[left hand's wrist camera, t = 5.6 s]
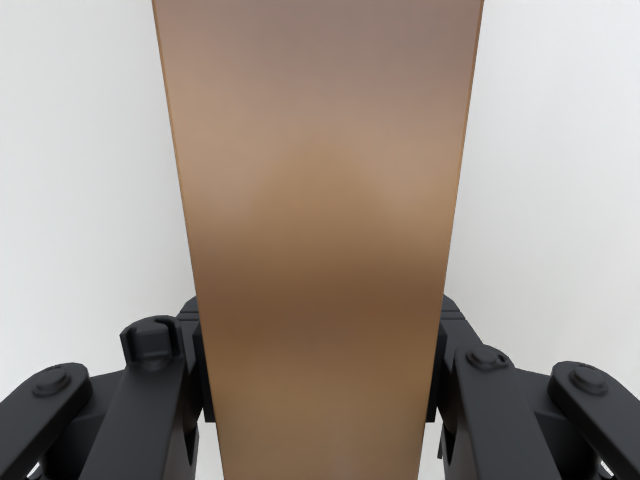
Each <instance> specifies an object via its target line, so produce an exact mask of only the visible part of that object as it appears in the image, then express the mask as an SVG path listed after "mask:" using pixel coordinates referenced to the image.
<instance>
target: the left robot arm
mask: <svg viewBox="0 0 640 480" xmlns="http://www.w3.org/2000/svg"><path fill="white" fill-rule="evenodd" d="M120 339H121V344H122V348H123V352H124V356H125V360H126V364H127V365H126V367H125V369H124V370H120V371H117V372H113V373H108V374H103V375H99V376H94V377H89V373H88V370H87V368H86V367H85V366H84V365H82V364H79V363H64V364H59V365H55V366H51V367H48V368H46V369H44V370H42V371H40V372H38V373H36V374H34V375H33V376H31V377H30V378H28V379H27V380H26V381H24V382H23V383H22V384H21V385H20V386H18V387H17V388H16V389H15V390H14V391H13V392H12V393H11V394H10V395H9V396H7V397H6V398H5V399H4V400H3V401H2V402H1V403H0V480H195V472H196V463H197V453H198V444H199V432H198V425H197V421H198V418H199V416H200V413H201V410H202V408H203V411H204V417H205V422H215V416H214V409H213V402H212V396H211V389H210V383H209V376H208V369H207V363H206V356H205V350H204V343H203V336H202V330H201V323H200V317H199V310H198V303H197V297H196V296H195V297H193V298H192V299H190V300H189V301H187V302H186V303H185V305H184V306H183V308H182V309H181V311H180V313H179V314H178V315H177V316H176V317H172V316H168V315H160V316H152V317H147V318H144V319H141V320H139V321H136V322H134V323H132V324H131V325H129V326H128V327H126V328H125V329H124V330H123V331H122V333H121V334H120ZM437 407H438V409H439V412H440V415H441V417H442V420H443V425H442V431H441V437H440V443H439V449H438V456H437V458H439V459H442V455H443V462H444V472H445V480H640V401H639V400H638V399H637V398H636V397H635V396H634V395H633V394H631V393H630V392H629V391H628V390H627V389H626V388H625V387H624V386H623V385H621V384H620V383H619V382H618V381H617V380H615V379H614V378H613V377H611V376H610V375H609V374H607V373H605V372H603V371H601V370H599V369H597V368H595V367H593V366H591V365H588V364H584V363H580V362H572V361H564V362H558V363H557V364H556V365H554V366H553V368H552V372H551V375H550V376H548V375H544V374H539V373H534V372H530V371H525V370H521V369H518V368H515V366H514V364H513V363H512V361H511V360H510V359H509V357H508V356H507V355H505V354H504V353H503V352H501V351H500V350H498V349H496V348H493V347H491V346H489V345H485V344H483V343H482V341H481V340H480V338H479V337H478V336H477V334H476V333H475V331H474V330H473V328H472V327H471V326H470V324H469V323H468V321H467V320H465V317H464V315H463V314H462V313H461V312H460V310H459V308H458V307H457V305H456V304H455V303H454V301H453V300H451V299H450V298H448V297H447V296H445V295H444V294H443V300H442V307H441V314H440V321H439V328H438V336H437V343H436V350H435V357H434V364H433V372H432V379H431V386H430V393H429V400H428V408H427V415H426V422H435V416H436V409H437ZM602 460H603V462H604V463H605V464H606V465H607V466H608V468H609V469H610V470H611V471H612V473H613V474H614V476H613V477H612V476H611V475H610V474H609V473H608V472H607V471H606V470H605V469H604V468H603V466H602V465H601V461H602ZM37 462H39V467H38V468H37V469H36V470H35V472H34V473H33V474H32V475H31V476H29V477H28V478H27V477H26V476H27V475H28V474H29V472H30V471H31V470H32V469H33V467H34V466H35V465H36V464H37Z"/></svg>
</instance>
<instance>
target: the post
mask: <svg viewBox="0 0 640 480" xmlns="http://www.w3.org/2000/svg"><path fill="white" fill-rule="evenodd" d="M483 4H484V0H152V6H153V13H154V19H155V26H156V33H157V39H158V46H159V52H160V59H161V66H162V72H163V79H164V85H165V92H166V99H167V105H168V112H169V118H170V125H171V132H172V138H173V145H174V151H175V158H176V165H177V171H178V178H179V185H180V191H181V198H182V204H183V211H184V218H185V224H186V231H187V237H188V244H189V251H190V257H191V264H192V270H193V277H194V284H195V290H196V297H197V303H198V310H199V317H200V323H201V330H202V336H203V343H204V350H205V356H206V363H207V369H208V376H209V383H210V389H211V396H212V402H213V409H214V416H215V422H216V429H217V436H218V442H219V449H220V455H221V462H222V469H223V475H224V480H418V472H419V465H420V458H421V451H422V444H423V436H424V429H425V422H426V415H427V408H428V400H429V393H430V386H431V379H432V372H433V364H434V357H435V350H436V343H437V336H438V328H439V321H440V314H441V307H442V300H443V292H444V285H445V278H446V271H447V264H448V256H449V249H450V242H451V235H452V228H453V220H454V213H455V206H456V199H457V192H458V184H459V177H460V170H461V163H462V155H463V148H464V141H465V134H466V127H467V119H468V112H469V105H470V98H471V91H472V83H473V76H474V69H475V62H476V55H477V47H478V40H479V33H480V26H481V19H482V11H483Z"/></svg>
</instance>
